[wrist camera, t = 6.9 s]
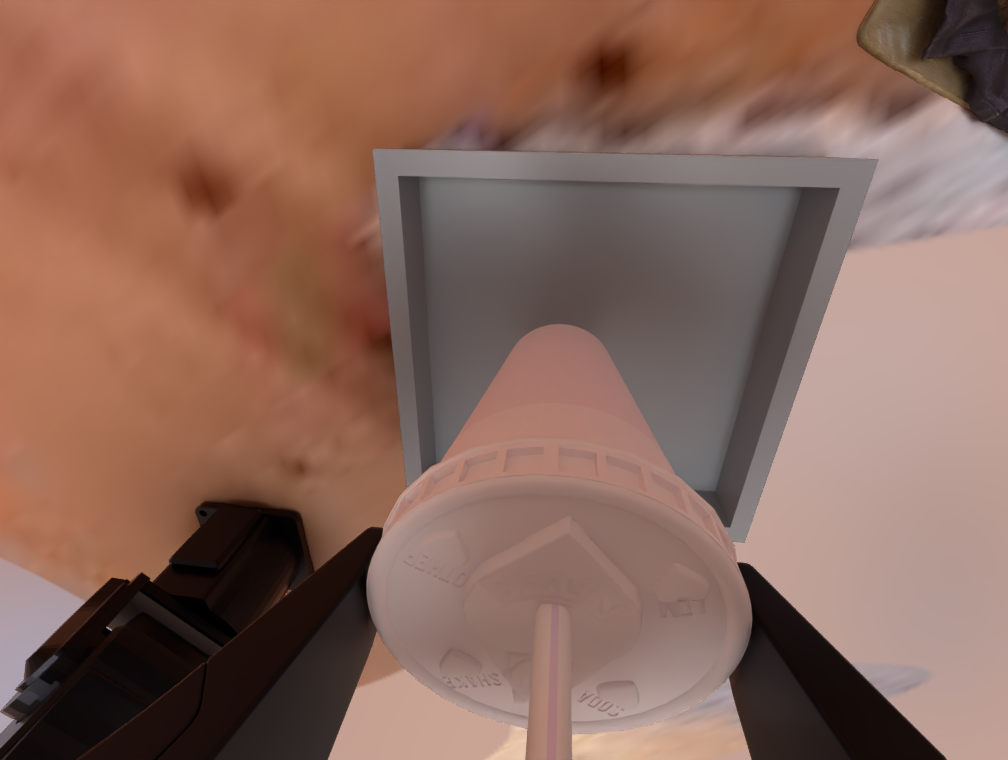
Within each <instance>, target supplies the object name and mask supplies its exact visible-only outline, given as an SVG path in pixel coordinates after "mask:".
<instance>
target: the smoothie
mask: <svg viewBox="0 0 1008 760" xmlns="http://www.w3.org/2000/svg"><path fill="white" fill-rule="evenodd" d="M367 601H368V607H369V611H370V614H371V618H372V620H373V623H374V625H375V627H376V630H377V632H378V633H379V635H380V637H381V639H382V641H383V643H384V644H385V646H386V647H387V648H388V649H389V651H390V652H391V653H392V655H393V656H394V657H395V658H396V660H397V661H398V662H399V664H400V665H401V666H403V667H404V668H405V669H406V670H407V671H408V672H409V673H410V674H411V675H412V676H414V677H415V678H416V679H417V680H418V681H419V682H420V683H422V684H423V685H424V686H426V687H428V688H429V689H430V690H432V691H433V692H435V693H436V694H438V695H439V696H441V697H442V698H444V699H446V700H448V701H450V702H452V703H454V704H456V705H458V706H460V707H462V708H464V709H466V710H468V711H470V712H473V713H475V714H478V715H481V716H484V717H486V718H489V719H492V720H495V721H497V722H501V723H505V724H509V725H513V726H517V727H522V728H526V729H528V730H527V744H526V759H525V760H572V734H595V733H606V732H617V731H624V730H629V729H633V728H638V727H642V726H647V725H652V724H654V723H657V722H660V721H662V720H665V719H668V718H671V717H673V716H676V715H679V714H681V713H682V712H684V711H686V710H688V709H689V708H691V707H693V706H695V705H696V704H698V703H700V702H702V701H704V700H705V699H706V698H707V697H708V696H710V695H711V694H712V693H713V692H714V691H715V690H717V689H718V688H719V687H720V686H721V685H722V684H723V683H725V682H726V680H727V679H728V678H729V676H730V675H731V674H732V673H733V671H734V670H735V669H736V667H737V666H738V664H739V662H740V661H741V659H742V657H743V655H744V653H745V651H746V648H747V646H748V642H749V638H750V635H751V627H752V606H751V602H750V597H749V593H748V590H747V587H746V585H745V582H744V579H743V577H742V574H741V572H740V569H739V567H738V564H737V560H736V552H735V545H734V544H733V542H732V540H731V538H730V536H729V535H728V533H727V531H726V529H725V528H724V526H723V524H722V522H721V520H720V519H719V517H718V515H717V513H716V512H715V510H714V508H713V507H711V506H710V505H709V504H708V503H707V502H706V501H705V500H704V499H703V498H702V497H701V496H699V495H698V494H697V493H696V492H695V491H694V490H693V489H692V488H691V487H690V486H689V485H687V484H686V483H685V482H684V481H683V480H682V479H681V478H680V477H679V476H677V475H676V474H675V472H674V470H673V469H672V467H671V465H670V463H669V461H668V460H667V458H666V457H665V455H664V454H663V452H662V450H661V448H660V446H659V445H658V443H657V441H656V439H655V437H654V435H653V434H652V432H651V430H650V428H649V426H648V424H647V423H646V421H645V419H644V417H643V415H642V414H641V412H640V410H639V408H638V406H637V404H636V403H635V401H634V399H633V397H632V395H631V393H630V392H629V390H628V388H627V386H626V384H625V383H624V381H623V379H622V377H621V375H620V373H619V372H618V370H617V368H616V366H615V364H614V363H613V361H612V359H611V357H610V355H609V353H608V352H607V350H606V348H605V347H604V345H603V344H602V343H601V342H600V340H598V339H597V338H596V337H595V336H594V335H592V334H591V333H589V332H588V331H586V330H584V329H582V328H579V327H576V326H572V325H567V324H552V325H546V326H543V327H539V328H537V329H535V330H533V331H531V332H529V333H528V334H526V335H525V336H524V337H522V338H521V339H520V340H519V341H518V342H517V344H516V345H515V346H514V348H513V349H512V351H511V352H510V354H509V356H508V357H507V359H506V360H505V362H504V364H503V365H502V367H501V368H500V370H499V371H498V373H497V375H496V376H495V378H494V379H493V381H492V382H491V384H490V386H489V387H488V389H487V390H486V392H485V394H484V395H483V397H482V398H481V400H480V401H479V403H478V405H477V406H476V408H475V409H474V411H473V412H472V414H471V416H470V417H469V419H468V420H467V422H466V424H465V425H464V427H463V428H462V430H461V431H460V433H459V435H458V436H457V438H456V439H455V441H454V442H453V444H452V445H451V446H450V448H449V449H448V451H447V452H446V454H445V455H444V457H443V459H442V460H441V462H440V463H438V464H436V465H433V466H431V467H430V468H429V469H428V470H427V471H425V472H424V473H423V474H422V475H421V476H420V477H419V478H418V479H417V480H415V481H414V482H413V483H412V484H411V485H410V486H409V487H408V488H407V489H405V490H404V491H403V492H402V493H401V494H400V496H399V498H398V500H397V501H396V503H395V505H394V507H393V509H392V511H391V513H390V514H389V516H388V518H387V520H386V522H385V524H384V526H383V533H382V538H381V540H380V542H379V544H378V546H377V548H376V550H375V552H374V555H373V557H372V559H371V563H370V566H369V569H368V575H367Z"/></svg>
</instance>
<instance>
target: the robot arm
mask: <svg viewBox="0 0 1008 760" xmlns="http://www.w3.org/2000/svg"><path fill="white" fill-rule="evenodd" d="M195 512H196V515H197V518H198V520H199V523H200V526H201V527H200V528H199V529H198V530H197V531H196V532H195V533H194V534H193V535H192V536H191V537H190V538H189V539H188V540H187V541H186V542H185V543H184V544H183V545H182V546H181V547H180V548H179V549H178V550H177V551H176V553H175V554H174V555H173V556H172V557H171V558H170V559H169V563H170V564H169V565H168V566H167V567H166V569H165V570H164V571H163V572H162V573H161V574H160V575H159V576H158V577H157V578H156V579H155V580H154V581H153V582H151V581H150V578H149V577H148V576H147V575H145V574H144V573H142V572H141V573H140V574H139V575H137V576H136V577H135V578H134V579H133V580H131V581H129V580H127V579H126V580H123V579H117V578H111V579H110V580H109V581H108V582H106V583H105V584H104V585H103V586H102V587H101V588H100V589H99V590H98V591H97V592H96V593H95V594H94V595H93V596H92V597H91V598H90V599H89V600H87V601H86V602H85V603H84V604H83V605H82V606H81V607H80V608H79V609H78V610H77V611H76V612H75V613H74V614H73V615H72V616H71V617H70V618H69V619H68V620H67V621H66V622H65V623H64V624H63V625H62V626H60V627H59V628H58V629H57V630H56V631H55V633H53V634H52V636H50V638H48V639H47V640H46V641H45V642H44V643H43V644H42V645H41V646H40V647H39V648H38V649H37V650H36V651H35V652H34V653H33V654H32V655H31V656H30V657H29V658H28V659H27V660H26V664H25V674H24V680H23V681H22V682H21V683H20V684H19V685H18V687H17V688H16V689H15V690H16V691H18V692H17V693H16V694H15V695H14V696H13V697H12V699H11V700H10V701H9V702H8V703H7V704H6V705H5V706H4V708H3V709H2V710H1V711H0V712H1V713H3V714H5V715H6V716H8V717H10V718H12V719H14V720H13V721H12V722H11V723H10V724H9V725H8V726H7V728H5V730H4V731H3V732H2V733H1V734H0V760H328V757H329V755H330V752H331V750H332V747H333V745H334V742H335V740H336V737H337V735H338V732H339V730H340V727H341V725H342V722H343V719H344V717H345V714H346V712H347V709H348V707H349V704H350V702H351V699H352V696H353V694H354V692H355V689H356V686H357V684H358V681H359V679H360V676H361V674H362V671H363V669H364V666H365V664H366V661H367V659H368V656H369V653H370V650H371V648H372V645H373V641H374V638H375V635H376V631H377V630H376V627H375V625H374V623H373V620H372V618H371V614H370V611H369V607H368V601H367V575H368V569H369V566H370V563H371V559H372V557H373V555H374V552H375V550H376V548H377V546H378V544H379V542H380V540H381V538H382V533H383V528H380V527H370V528H368V529H366V530H365V531H364V532H363V533H361V534H360V535H359V536H358V537H357V538H355V539H354V540H353V541H352V542H350V543H349V544H348V545H347V546H346V547H344V548H343V549H342V550H341V551H340V552H338V553H337V554H336V555H335V556H333V557H332V558H331V559H330V560H329V561H327V562H326V563H325V564H324V565H322V566H321V567H320V568H319V569H318V570H316V571H315V572H314V573H313V569H312V565H311V561H310V557H309V553H308V549H307V545H306V541H305V536H304V532H303V528H302V524H301V520H300V517H299V516H298V515H297V514H296V513H294V512H289V511H279V510H270V509H261V508H251V507H242V506H233V505H223V504H214V503H201V504H200V505H199V506H198V507H197V508H196V510H195ZM737 564H738V567H739V569H740V572H741V574H742V577H743V579H744V582H745V585H746V587H747V590H748V593H749V597H750V602H751V606H752V627H751V635H750V638H749V642H748V646H747V648H746V651H745V653H744V655H743V657H742V659H741V661H740V662H739V664H738V666H737V667H736V669H735V670H734V671H733V673H732V674H731V675H730V676H729V680H730V684H731V689H732V693H733V697H734V701H735V704H736V708H737V711H738V715H739V718H740V722H741V725H742V728H743V732H744V735H745V739H746V742H747V745H748V749H749V752H750V756H751V759H752V760H946V758H945V756H944V755H942V753H940V752H939V751H938V750H937V749H936V748H935V747H934V746H933V745H932V744H931V743H930V742H929V741H928V740H927V739H926V738H925V737H924V736H923V735H922V734H921V733H920V732H919V731H918V730H917V729H916V728H915V727H914V726H913V725H912V724H911V723H910V722H909V721H908V720H907V719H906V718H905V717H904V716H903V715H902V714H901V713H900V712H899V711H898V710H897V709H896V708H895V707H894V706H893V705H892V704H891V703H890V702H889V701H888V700H887V699H886V698H885V697H884V696H883V695H882V694H881V693H880V692H879V691H878V690H877V689H876V688H875V687H874V686H873V685H872V684H871V683H870V682H869V681H868V680H867V679H866V678H865V677H864V676H863V675H862V674H861V673H860V672H859V671H858V670H857V669H856V668H855V667H854V666H853V665H852V664H851V663H850V662H849V661H848V660H846V658H844V656H842V655H841V654H840V652H839V651H837V650H836V649H835V648H834V647H833V646H832V645H831V644H830V643H829V642H828V641H827V640H826V639H825V638H824V637H823V636H822V635H821V634H820V633H819V632H818V631H817V630H816V629H815V628H814V627H813V626H812V625H811V624H810V623H809V622H808V621H807V620H806V619H805V618H804V617H803V616H802V615H801V614H800V613H799V612H798V611H797V610H796V609H795V608H794V607H793V606H792V605H791V604H790V603H789V602H788V601H787V600H786V599H785V598H784V597H783V596H782V595H781V594H780V593H779V592H778V591H777V590H776V589H775V588H774V587H773V586H772V585H771V584H770V583H769V582H768V581H767V580H766V579H765V578H764V577H763V576H762V575H761V574H760V573H759V572H758V571H757V570H756V569H754V567H752V566H751V565H750V564H747V563H739V562H737ZM288 589H290V590H292V591H291V592H289V593H288V594H287V595H286V596H285V594H286V592H287V591H288ZM284 596H285V597H284ZM106 627H109V628H111V629H112V631H110V630H108V629H107V628H106Z"/></svg>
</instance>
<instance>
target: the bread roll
mask: <svg viewBox="0 0 1008 760" xmlns="http://www.w3.org/2000/svg"><path fill="white" fill-rule="evenodd" d="M857 42H858V45H859V46H860V47H862V48H863V49H864V50H865V51H866V52H868V53H870V54H871V55H872V56H874V57H875V58H877V59H878V60H880V61H881V62H883V63H884V64H886V65H887V66H889V67H891V68H893V69H894V70H896V71H899V72H901V73H903V74H905V75H906V76H907V77H909V78H911V79H913V80H914V81H916V82H917V83H919V84H922V85H924V86H925V87H927V88H929V89H931V90H932V91H933V92H935V93H937V94H939V95H941V96H943V97H944V98H948V99H949V100H950V101H952V102H954V103H956V104H958V105H960V106H963V107H965V108H967V109H968V110H970V111H972V112H974V113H975V114H976V116H977V117H978V118H979V120H980V121H982V122H990V123H991V124H992V125H994V126H995V127H997V128H998V129H1002V130H1005V131H1006V132H1007V133H1008V0H875V1H874V3H873V5H872V7H871V8H870V9H869V11H868V12H867V14H866V16H865V18H864V19H863V21H862V23H861V25H860V27H859V29H858V33H857Z"/></svg>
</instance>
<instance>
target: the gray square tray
mask: <svg viewBox="0 0 1008 760" xmlns="http://www.w3.org/2000/svg"><path fill="white" fill-rule="evenodd" d="M373 159H374V169H375V179H376V189H377V199H378V209H379V219H380V229H381V239H382V249H383V259H384V268H385V278H386V288H387V298H388V308H389V318H390V328H391V338H392V348H393V358H394V368H395V378H396V388H397V398H398V408H399V418H400V427H401V437H402V447H403V457H404V467H405V477H406V487H407V488H408V487H409V486H410V485H411V484H412V483H413V482H414V481H415V480H417V479H418V478H419V477H420V476H421V475H422V474H423V473H424V472H425V471H427V470H428V469H429V468H430V467H431V466H433V465H436V464H438V463H440V462H441V460H442V459H443V457H444V455H445V454H446V452H447V451H448V449H449V448H450V446H451V445H452V444H453V442H454V441H455V439H456V438H457V436H458V435H459V433H460V431H461V430H462V428H463V427H464V425H465V424H466V422H467V420H468V419H469V417H470V416H471V414H472V412H473V411H474V409H475V408H476V406H477V405H478V403H479V401H480V400H481V398H482V397H483V395H484V394H485V392H486V390H487V389H488V387H489V386H490V384H491V382H492V381H493V379H494V378H495V376H496V375H497V373H498V371H499V370H500V368H501V367H502V365H503V364H504V362H505V360H506V359H507V357H508V356H509V354H510V352H511V351H512V349H513V348H514V346H515V345H516V344H517V342H518V341H519V340H520V339H521V338H522V337H524V336H525V335H526V334H528V333H529V332H531V331H533V330H535V329H537V328H539V327H543V326H546V325H552V324H567V325H572V326H576V327H579V328H582V329H584V330H586V331H588V332H589V333H591V334H592V335H594V336H595V337H596V338H597V339H598V340H600V342H601V343H602V344H603V345H604V347H605V348H606V350H607V352H608V353H609V355H610V357H611V359H612V361H613V363H614V364H615V366H616V368H617V370H618V372H619V373H620V375H621V377H622V379H623V381H624V383H625V384H626V386H627V388H628V390H629V392H630V393H631V395H632V397H633V399H634V401H635V403H636V404H637V406H638V408H639V410H640V412H641V414H642V415H643V417H644V419H645V421H646V423H647V424H648V426H649V428H650V430H651V432H652V434H653V435H654V437H655V439H656V441H657V443H658V445H659V446H660V448H661V450H662V452H663V454H664V455H665V457H666V458H667V460H668V461H669V463H670V465H671V467H672V469H673V470H674V472H675V474H676V475H677V476H679V477H680V478H681V479H682V480H683V481H684V482H685V483H686V484H687V485H689V486H690V487H691V488H692V489H693V490H694V491H695V492H696V493H697V494H698V495H699V496H701V497H702V498H703V499H704V500H705V501H706V502H707V503H708V504H709V505H710V506H711V507H713V508H714V510H715V512H716V513H717V515H718V517H719V519H720V520H721V522H722V524H723V526H724V528H725V529H726V531H727V533H728V535H729V536H730V538H731V540H732V542H741V543H745V540H746V537H747V534H748V531H749V528H750V526H751V523H752V520H753V517H754V514H755V511H756V508H757V505H758V503H759V500H760V497H761V494H762V491H763V488H764V486H765V483H766V480H767V477H768V474H769V471H770V468H771V466H772V463H773V460H774V457H775V454H776V451H777V448H778V445H779V443H780V440H781V437H782V434H783V431H784V428H785V426H786V423H787V420H788V417H789V414H790V411H791V408H792V406H793V402H794V400H795V397H796V394H797V391H798V388H799V385H800V383H801V380H802V377H803V374H804V371H805V368H806V365H807V363H808V359H809V357H810V354H811V351H812V348H813V345H814V343H815V340H816V337H817V334H818V331H819V328H820V325H821V323H822V319H823V317H824V314H825V311H826V308H827V305H828V303H829V300H830V297H831V294H832V291H833V288H834V285H835V282H836V280H837V277H838V274H839V271H840V268H841V265H842V262H843V260H844V257H845V254H846V251H847V248H848V245H849V243H850V240H851V237H852V234H853V231H854V228H855V225H856V223H857V220H858V217H859V214H860V211H861V208H862V205H863V202H864V200H865V197H866V194H867V191H868V188H869V185H870V182H871V180H872V177H873V174H874V171H875V168H876V165H877V162H878V160H876V159H855V158H833V157H792V156H744V155H697V154H649V153H601V152H554V151H506V150H459V149H411V148H391V149H373Z"/></svg>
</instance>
